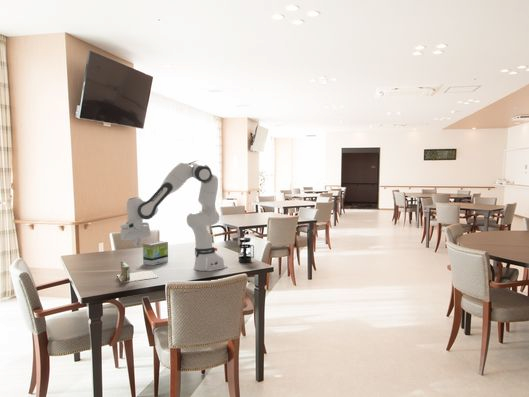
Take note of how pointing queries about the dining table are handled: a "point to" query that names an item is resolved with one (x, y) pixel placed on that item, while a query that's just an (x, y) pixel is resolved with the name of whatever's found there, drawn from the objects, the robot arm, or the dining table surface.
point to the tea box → (155, 253)
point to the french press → (245, 258)
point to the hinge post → (121, 268)
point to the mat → (140, 276)
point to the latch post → (124, 275)
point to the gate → (126, 270)
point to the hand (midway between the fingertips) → (137, 246)
